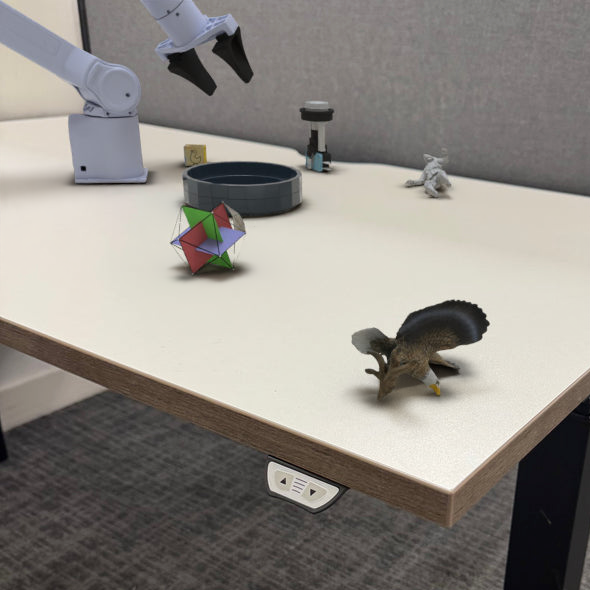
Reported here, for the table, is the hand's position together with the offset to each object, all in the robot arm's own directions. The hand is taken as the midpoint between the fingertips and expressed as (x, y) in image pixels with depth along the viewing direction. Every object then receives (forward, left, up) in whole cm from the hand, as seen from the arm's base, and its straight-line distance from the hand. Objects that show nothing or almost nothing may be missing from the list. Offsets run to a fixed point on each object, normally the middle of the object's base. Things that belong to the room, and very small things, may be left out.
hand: (231, 85), depth 119 cm
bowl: (0, -23, -12) cm, 26 cm away
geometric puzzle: (-5, -50, -12) cm, 52 cm away
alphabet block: (-6, +2, -12) cm, 14 cm away
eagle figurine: (+9, -79, -12) cm, 81 cm away
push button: (+13, -2, -12) cm, 18 cm away
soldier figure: (+28, -16, -12) cm, 35 cm away
